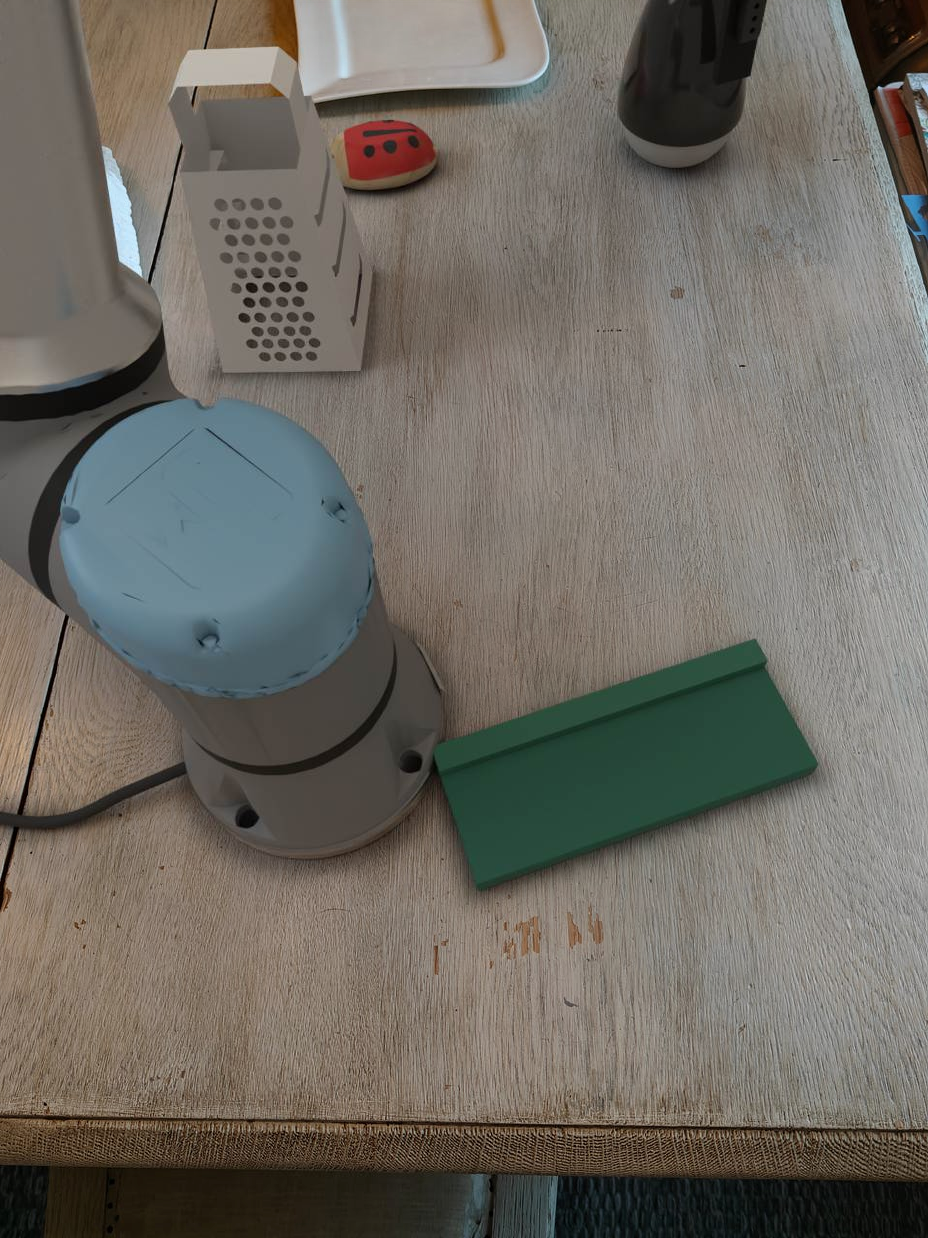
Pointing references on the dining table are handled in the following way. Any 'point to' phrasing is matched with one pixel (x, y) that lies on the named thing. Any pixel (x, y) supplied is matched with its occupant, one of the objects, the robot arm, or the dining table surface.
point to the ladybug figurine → (383, 155)
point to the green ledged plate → (619, 763)
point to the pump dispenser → (677, 85)
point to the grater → (269, 213)
